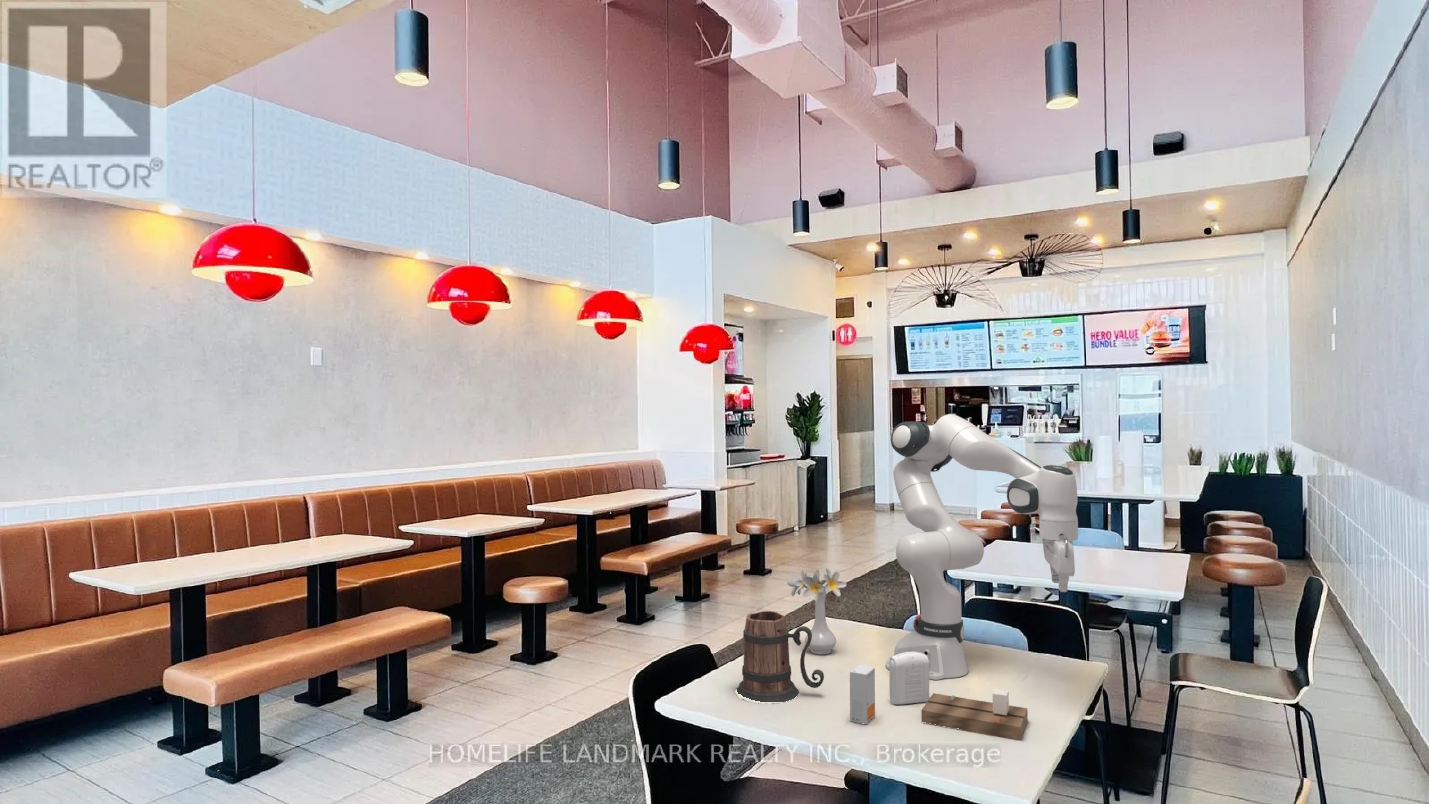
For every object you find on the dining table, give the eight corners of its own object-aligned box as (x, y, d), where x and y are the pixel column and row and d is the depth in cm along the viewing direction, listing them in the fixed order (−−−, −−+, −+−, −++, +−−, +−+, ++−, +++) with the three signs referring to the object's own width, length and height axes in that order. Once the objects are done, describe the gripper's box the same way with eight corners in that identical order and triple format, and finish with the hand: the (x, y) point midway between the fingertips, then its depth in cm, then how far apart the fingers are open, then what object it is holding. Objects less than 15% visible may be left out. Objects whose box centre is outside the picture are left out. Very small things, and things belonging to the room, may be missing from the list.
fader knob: (993, 720, 184) (992, 693, 184) (995, 715, 187) (995, 688, 187) (1006, 722, 182) (1006, 695, 182) (1009, 717, 186) (1008, 690, 186)
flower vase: (797, 642, 251) (795, 563, 251) (853, 649, 243) (852, 567, 243) (782, 654, 240) (780, 571, 240) (841, 662, 232) (839, 576, 231)
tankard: (727, 700, 203) (726, 622, 203) (743, 678, 220) (742, 606, 220) (819, 709, 197) (817, 628, 197) (828, 685, 213) (827, 610, 213)
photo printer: (923, 696, 204) (923, 648, 204) (932, 702, 200) (931, 653, 200) (887, 700, 202) (886, 651, 202) (894, 706, 198) (894, 657, 198)
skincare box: (866, 725, 187) (866, 674, 187) (849, 722, 189) (848, 671, 189) (876, 716, 192) (875, 667, 192) (859, 713, 194) (858, 664, 194)
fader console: (921, 722, 188) (921, 709, 188) (933, 705, 198) (933, 692, 198) (1020, 740, 177) (1020, 726, 177) (1027, 721, 188) (1027, 707, 188)
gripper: (1081, 538, 187) (1082, 597, 187) (1064, 525, 207) (1065, 578, 207) (1052, 538, 188) (1053, 596, 188) (1038, 524, 208) (1039, 577, 208)
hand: (1059, 586), depth 198 cm, fingers open, 8 cm apart
